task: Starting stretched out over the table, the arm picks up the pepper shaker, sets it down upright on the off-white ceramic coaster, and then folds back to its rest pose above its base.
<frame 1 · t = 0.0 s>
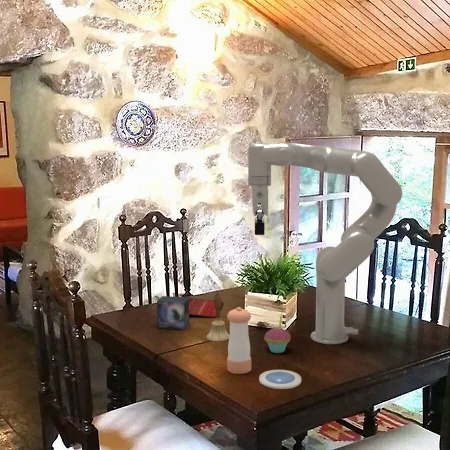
hand: (259, 232, 212), 37 cm above the table, tool pointing down, fingers open, 9 cm apart
coaster: (280, 380, 182), on the table
pepper shaker: (239, 369, 190), on the table
hand bell: (218, 338, 218), on the table
small box: (173, 327, 230), on the table
cupcake: (277, 351, 206), on the table
binder: (200, 311, 250), on the table
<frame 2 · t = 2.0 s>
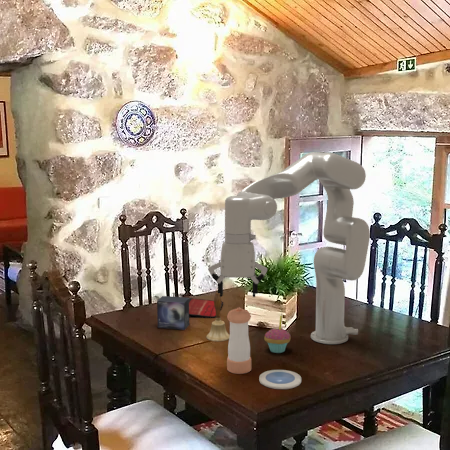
hand: (237, 295, 187), 23 cm above the table, tool pointing down, fingers open, 9 cm apart
nothing on the table moved.
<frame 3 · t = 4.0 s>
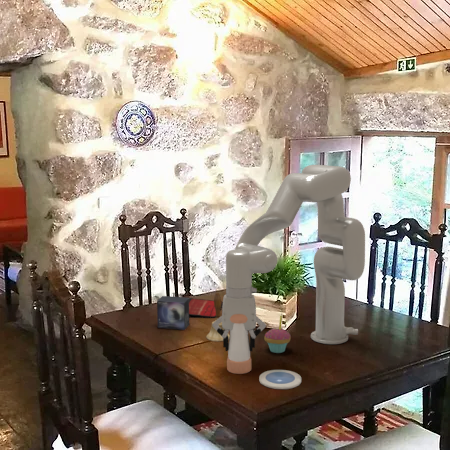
hand: (239, 349, 189), 6 cm above the table, tool pointing down, fingers closed on pepper shaker, 6 cm apart
pepper shaker: (239, 369, 190), on the table, touching gripper
everything else where it was.
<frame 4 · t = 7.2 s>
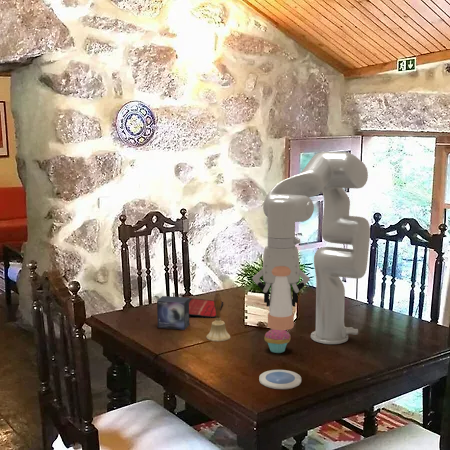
hand: (280, 304, 178), 22 cm above the table, tool pointing down, fingers closed on pepper shaker, 6 cm apart
pepper shaker: (280, 326, 179), point 16 cm above the table, touching gripper
everything else where it was.
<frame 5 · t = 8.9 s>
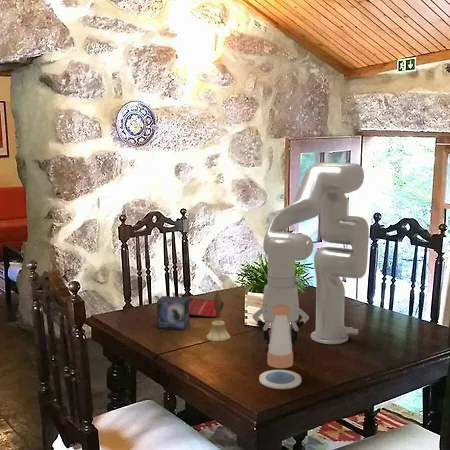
hand: (280, 342, 180), 11 cm above the table, tool pointing down, fingers closed on pepper shaker, 6 cm apart
pepper shaker: (280, 364, 181), point 5 cm above the table, touching gripper
everything else where it was.
when the fingers open (8 cm above the table, at t = 10.2 s): pepper shaker stays where it is, resting on coaster.
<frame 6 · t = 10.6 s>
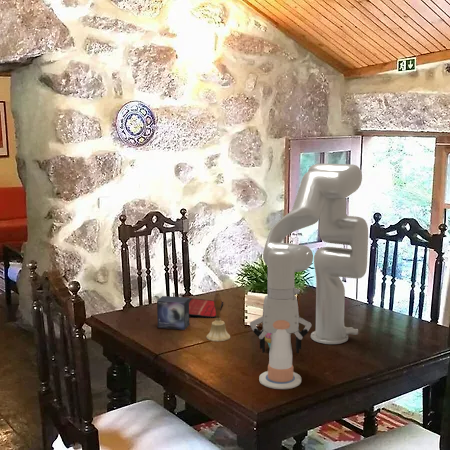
hand: (280, 351, 180), 9 cm above the table, tool pointing down, fingers open, 9 cm apart
pepper shaker: (280, 377, 182), point 1 cm above the table, touching coaster
everything else where it was.
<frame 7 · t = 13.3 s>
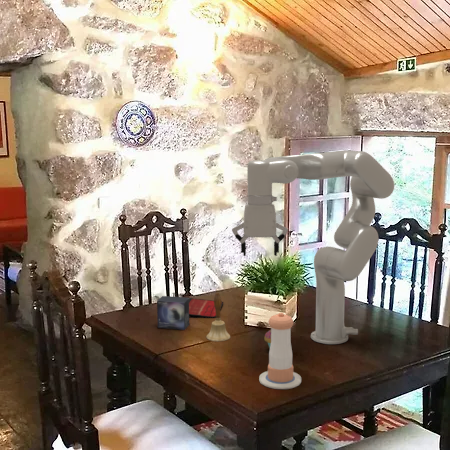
hand: (260, 255, 198), 32 cm above the table, tool pointing down, fingers open, 9 cm apart
nothing on the table moved.
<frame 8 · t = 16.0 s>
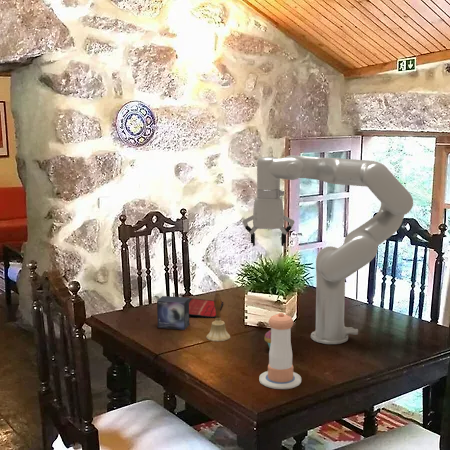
hand: (268, 245, 212), 32 cm above the table, tool pointing down, fingers open, 9 cm apart
nothing on the table moved.
at the end: pepper shaker 0.2 cm from the coaster (horizontally); pepper shaker tilted 0°; the gripper is holding nothing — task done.
